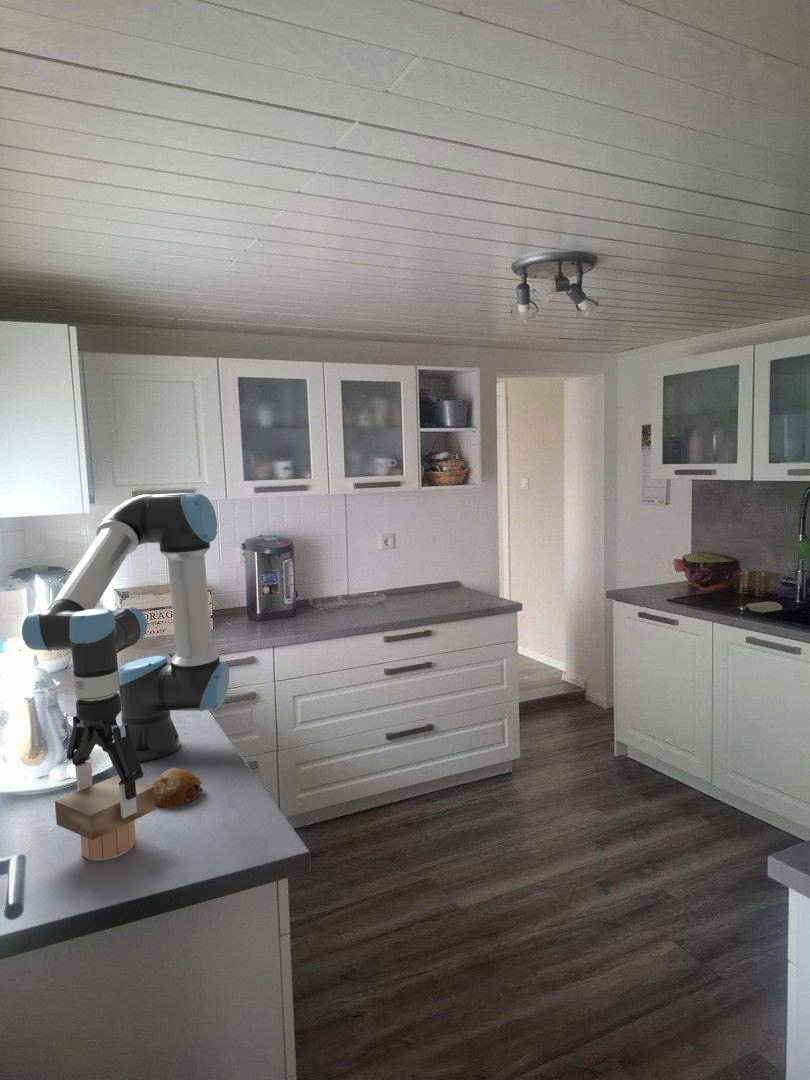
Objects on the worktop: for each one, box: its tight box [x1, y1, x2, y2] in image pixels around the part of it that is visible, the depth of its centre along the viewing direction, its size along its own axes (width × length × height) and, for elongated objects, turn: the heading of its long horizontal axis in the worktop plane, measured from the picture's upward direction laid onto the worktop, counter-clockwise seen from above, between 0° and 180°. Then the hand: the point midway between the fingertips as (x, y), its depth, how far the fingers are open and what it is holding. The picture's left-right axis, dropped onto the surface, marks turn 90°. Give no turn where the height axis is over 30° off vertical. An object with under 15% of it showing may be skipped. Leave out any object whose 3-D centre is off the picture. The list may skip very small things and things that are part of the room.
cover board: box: [54, 774, 156, 840], centre depth 132 cm, size 13×11×4 cm
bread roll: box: [151, 767, 204, 808], centre depth 153 cm, size 10×10×8 cm
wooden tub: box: [80, 820, 137, 862], centre depth 133 cm, size 9×9×6 cm
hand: (106, 805), depth 133 cm, fingers open, 13 cm apart
